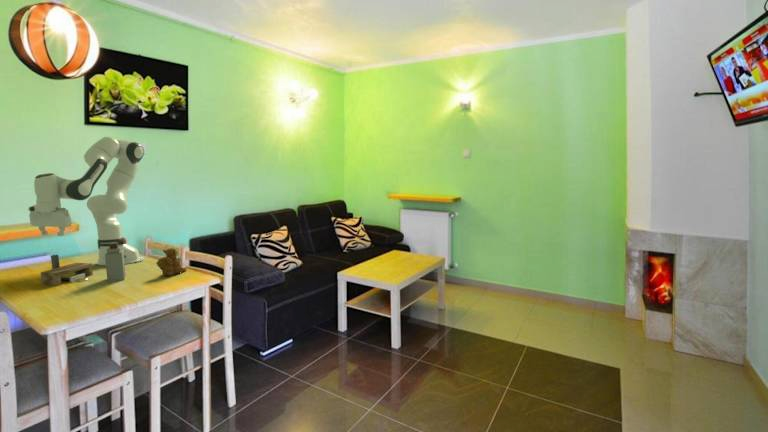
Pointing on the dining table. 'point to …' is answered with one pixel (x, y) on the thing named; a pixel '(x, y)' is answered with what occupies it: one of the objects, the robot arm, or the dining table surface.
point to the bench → (54, 274)
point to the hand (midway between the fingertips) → (52, 235)
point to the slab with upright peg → (56, 264)
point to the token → (82, 279)
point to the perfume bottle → (115, 263)
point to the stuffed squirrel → (170, 263)
